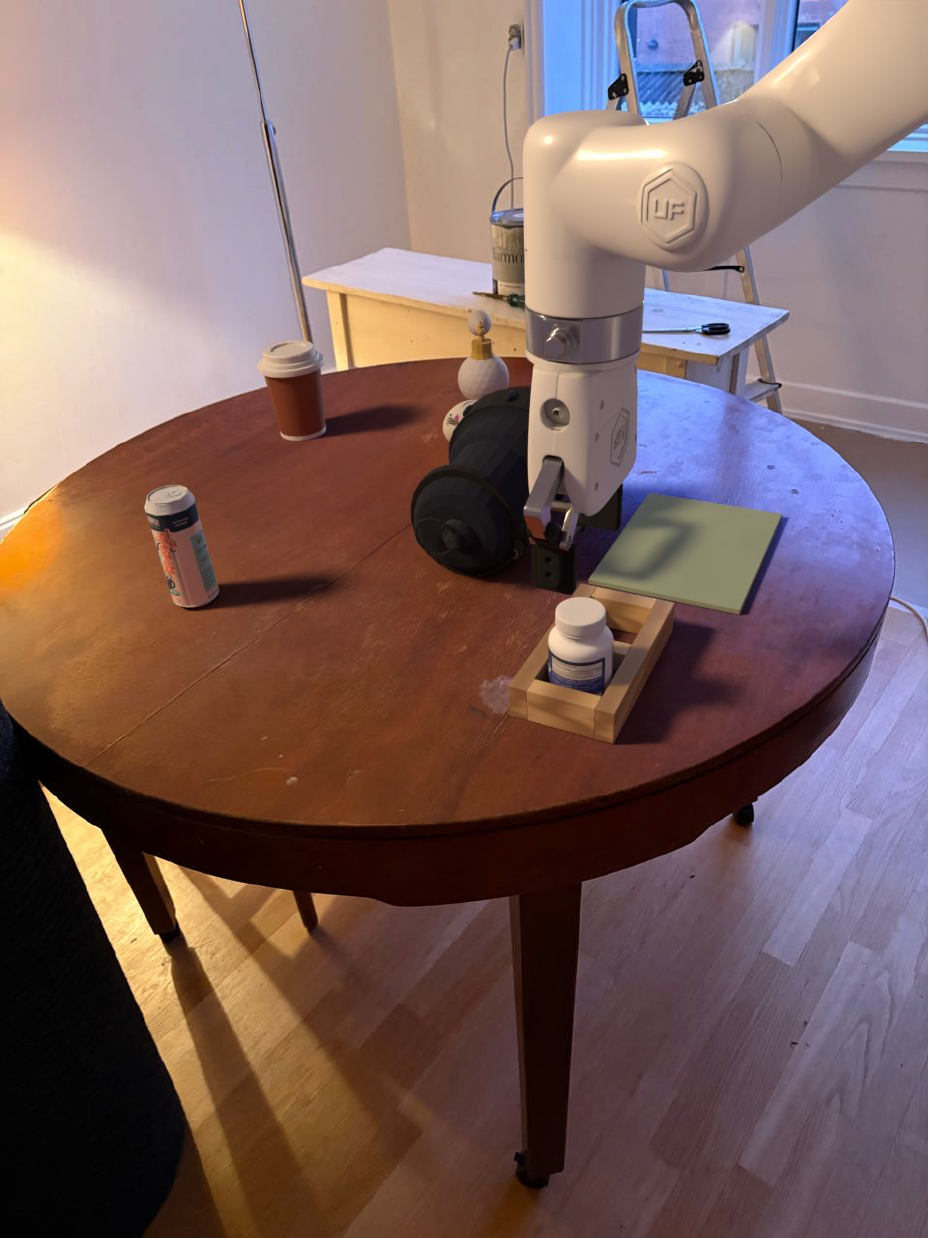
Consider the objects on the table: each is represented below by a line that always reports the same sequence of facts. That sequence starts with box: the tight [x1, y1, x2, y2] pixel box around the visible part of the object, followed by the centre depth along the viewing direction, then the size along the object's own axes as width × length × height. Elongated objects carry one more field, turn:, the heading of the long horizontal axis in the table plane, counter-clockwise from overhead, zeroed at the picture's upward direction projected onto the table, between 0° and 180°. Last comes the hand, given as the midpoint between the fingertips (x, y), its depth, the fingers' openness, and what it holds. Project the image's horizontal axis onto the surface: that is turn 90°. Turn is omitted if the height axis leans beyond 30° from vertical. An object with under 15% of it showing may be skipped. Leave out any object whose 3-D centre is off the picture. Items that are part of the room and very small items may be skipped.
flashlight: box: [410, 387, 589, 577], centre depth 92 cm, size 15×21×20 cm
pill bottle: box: [548, 597, 614, 697], centre depth 73 cm, size 5×5×9 cm
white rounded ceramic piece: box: [442, 399, 477, 442], centre depth 116 cm, size 8×6×7 cm
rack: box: [508, 583, 676, 745], centre depth 77 cm, size 9×16×3 cm, turn 153°
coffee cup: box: [256, 339, 327, 442], centre depth 123 cm, size 9×9×12 cm
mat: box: [588, 492, 783, 616], centre depth 93 cm, size 15×20×1 cm
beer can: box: [143, 484, 220, 609], centre depth 88 cm, size 5×5×12 cm
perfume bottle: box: [457, 309, 510, 401], centre depth 129 cm, size 8×10×12 cm
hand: (578, 556), depth 67 cm, fingers open, 9 cm apart
